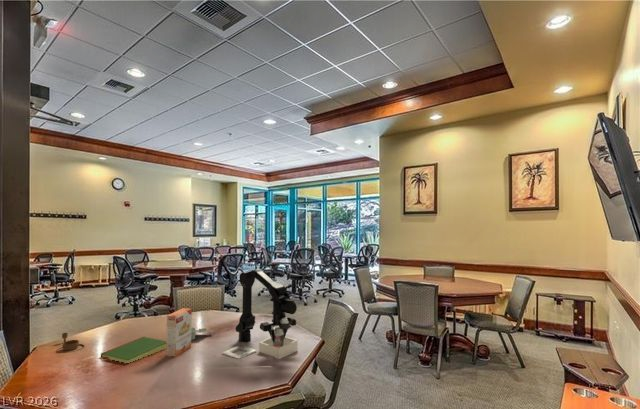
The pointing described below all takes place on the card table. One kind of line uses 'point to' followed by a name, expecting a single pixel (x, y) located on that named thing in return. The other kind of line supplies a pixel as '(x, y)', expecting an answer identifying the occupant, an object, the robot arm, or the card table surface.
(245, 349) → the socket block
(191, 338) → the metal bracket
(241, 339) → the robot arm
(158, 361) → the card table surface
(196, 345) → the card table surface
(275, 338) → the pill bottle
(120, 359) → the hardcover book
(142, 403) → the card table surface
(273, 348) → the bin
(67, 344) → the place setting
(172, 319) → the cracker box
